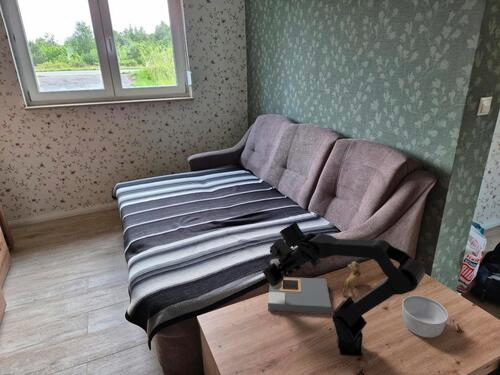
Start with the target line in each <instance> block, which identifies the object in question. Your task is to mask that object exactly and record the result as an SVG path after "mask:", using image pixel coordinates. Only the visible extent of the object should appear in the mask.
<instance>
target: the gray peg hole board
mask: <svg viewBox="0 0 500 375" xmlns="http://www.w3.org/2000/svg"><path fill="white" fill-rule="evenodd" d="M284 287H287V288H288V287H293V288H297V289H286V288H285V289H284ZM331 306H332V304H331V300H330V294H329V288H328V284H327V279H326V278H314V277H295V276H293V277H290V276H284V279H283V281H282V287H281V288H280V289H273V288H271V285H270V284H269V288H268V299H267V310H268V311H273V310H278V311H277V312H291V311H293V312H295V313H310V314H311V313H312V314H313V313H314V314H327V315H328V314H329V315H330V314H331V312H332V307H331ZM293 312H292V313H293Z"/></svg>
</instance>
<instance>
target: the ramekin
mask: <svg viewBox="0 0 500 375" xmlns="http://www.w3.org/2000/svg"><path fill="white" fill-rule="evenodd" d="M401 319H402V322H403V324H404V326H405V327H406V328H407V329H408V330H409V331H410V332H412V333H414V334H415V335H417V336H419V337H422V338H426V339H427V338H428V339H429V338H436V337H438V336H440V335H441V334H442V333H443V331H444V329H445V326H446V325H447V323H448V320H449V313H448V311H447V309H446V308H445V306H443V305H442V304H441V303H440V302H439V301H437V300H435V299H433V298H431V297H428V296H424V295H417V294H416V295H409V296H406V297H405V298H404V299H402V302H401Z"/></svg>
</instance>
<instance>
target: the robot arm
mask: <svg viewBox="0 0 500 375" xmlns="http://www.w3.org/2000/svg"><path fill="white" fill-rule="evenodd" d="M279 234H280V236H281V237H282V238H279V239H278V240H276V241H275V242H273V244H272V245H271V246H269V253H270V254H271V255H272V256H273V257H274V258H276V257H277V259H278V261H279V262H280V264H279V265H278V267H277V266H276V265H275V263H273V264H271V265H268V266H267V267H266V268H264V269H263V270H262V273H263V276H265V278H266V280H267V281H268V283H269V286H270V285H271V286H272V287H274V286H276V285H278V284H279V283H280V282H281V281H283V279H284V277H286V273H287V274H288V275H291V274H293V273H294V272H295V271H296V272H297V271H298V270H301V268H302V267H305V266H306V265H307V264H309V263H310V264H311V266H313V268H315V267H317V266H318V265H319V264H321V262H322V259H327V258H330V257H334V256H340V257H350V258H352V257H353V258H363V259H373V261H375V262H376V263H377V264H378V266H379V267H380V269H381V271H382V273H383V274H384V276H386V277H387V278H385V279H384V280H383V281H381V282H380V283H378V284H377V285H375V286H374V287H373V288H371V289H370V290H368V291H367V292H365V293H364V294H362V295H361V296H360V297H359V298H357V299H353V298H352V297H351V296H350V295H348V299H347V298H346V299H344V300H342V301H341V302H340V303H339V305H337V307H336V308H334V310H332V313H333V314H332V315H331V319H332V322H333V325H334V328H335V332H336V345H337V348H338V350H339V353H340V355H342V356H354V357H363V354H364V353H363V350H362V346H363V337H364V334H363V332H362V330H363V329H364V328H365V327H366V325H367V321H366V319H365V318H364V316H363V315H365V314H367V313H369V312H370V311H371V310H373V309H374V308H376V307H377V306H379V305H380V304H382V303H385V301H387V300H389V299H390V298H392V297H394V296H396V295H398V296H399V295H400V296H401V295H402V296H403V295H405V294H408V293H411V292H413V291H415V290H416V289H417V288H418V286H419V284H420V283H421V281H422V280H423V278H424V277H425V275H426V269H425V267H424V265H423V263H422V262H420V261H419V260H417V259H414V257H412V256H410V254H408V253H407V252H405V251H404V250H401V249H399V248H397V247H395V246H392V245H391V244H390V243H389V242H388V241H386V240H384V239H379V240H372V239H371V240H369V239H367V240H365V239H346V238H345V239H344V238H337V237H334V236H333V235H331V234H325V233H317V234H316V233H312V232H309V233H307V234H306V235H305V234H304V232H303V231H302V229H301V228H300V227H299V224H298V223H297V222H296V221H294V222H292V223H291V224H290V225H288V226H286V227H285V228H283V229H281V230H280V231H279ZM392 261H395V262H396V263H398V265H397V266H396V265H394V264H395V263H394V262H392ZM281 266H282V267H281ZM280 267H281V268H280Z"/></svg>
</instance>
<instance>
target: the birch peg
mask: <svg viewBox="0 0 500 375" xmlns="http://www.w3.org/2000/svg"><path fill="white" fill-rule="evenodd" d="M278 259H279V258H273V259H271V260H270V261H269V262H270V263H269V264H270V265H271V264H273V263H275V265H276V266H277V267H278V265H279V264H280V262H279V261H278ZM270 265H269V266H270ZM281 267H282V266H281ZM281 267H280V268H281ZM281 287H282V281H281V282H280V283H279V284H278V285H276V286H274V287H272V286H271V288H273V289H280V288H281Z"/></svg>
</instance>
